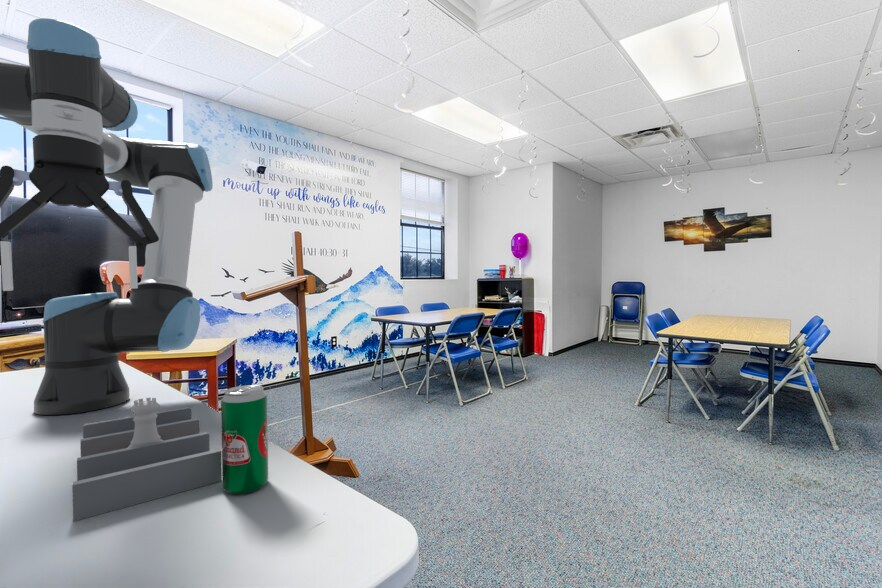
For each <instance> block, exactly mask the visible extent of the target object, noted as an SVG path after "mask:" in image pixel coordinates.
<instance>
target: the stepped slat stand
mask: <svg viewBox="0 0 882 588" xmlns="http://www.w3.org/2000/svg"><path fill="white" fill-rule="evenodd" d="M155 413H156V415H157V418H156V426H157V432H158V434H159V436H160V437H161V438H160V439H162V440H163V441H159V442H154V443H149V444H144V445H139V446H134V447H129V445H130V444H131V441H132V439H133V436H134V429H135V422H134V421H133V418H134V417H135V415H131V416H130V415H129V416H125V417H119V418H118V417H117V418H113V419H107V420H106V419H105V420H101V421H94V422H87V423H83V425H82V429H83V430H82V435H83V438H80V441H79V443H80V449H79V450H80V457H77V458H76V481H72V485H71V486H72V488H71V489H72V491H71V492H72V522H75V521H80V520H83V519H87V518H90V517H95V516H98V515H101V514H105V513H110V512H113V511H117V510H120V509H124V508H127V507H132V506H135V505H138V504H142V503H146V502H149V501H153V500H156V499H159V498H160V499H161V498H163V497H167V496H172V495H175V494H179V493H182V492H186V491H190V490H193V489H196V488H200V487H204V486H208V485H212V484H215V483H219V482H223V480H222V449H220V448H216V449H213V450H210V432H209V431H205V432H200V429H201V428H200V418H199V417H196V418H192V407H191V406H187V407H181V408H175V409H174V408H173V409H168V410H161V411H156V412H155ZM128 447H129V448H128Z"/></svg>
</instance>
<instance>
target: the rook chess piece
mask: <svg viewBox="0 0 882 588" xmlns="http://www.w3.org/2000/svg"><path fill="white" fill-rule="evenodd" d="M145 398H146V400H144V398H139V399H138V400H137V399H135V400H134V401H133V405H132V406H131V407H130V410H131V412H133V414H134V416H135V417H134V418H133V421H134V422H135V429H134V436H133V439H132V441H131V444H130V445H129V447H134V446H139V445H144V444H149V443H154V442H159V441H163V440H162V439H160V438H161V437H160V436H159V434H158V432H157V426H156V418H157V415H156V413H155V412H157V409H158V408H159V407H160V404H159V402H157V398H156V397H152V398H151V397H145ZM129 447H128V448H129Z"/></svg>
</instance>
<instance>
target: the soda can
mask: <svg viewBox="0 0 882 588" xmlns="http://www.w3.org/2000/svg"><path fill="white" fill-rule="evenodd" d="M223 392H224V395H223V396H222V398H221V399H220V408H221V409H220V414H221V418H220V419H221V421H220V423H221V468H222V488H223V490H224V491H225V492H227V493H228V494H230V495H233V496H237V495H238V496H239V495H241V496H242V495H248V494H250V493H251V494H252V493H254V492H256V491H259V490H260V489H261V488H262V487H264V486H265V484H266V483H267V482H268V480H269V445H268V443H269V437H268V436H269V435H268V395H267V393H266V392H265V391H264V386H262V385H256V384H251V385H250V384H247V385H237V386H233V387H230V388H227V389H226V390H224V391H223Z"/></svg>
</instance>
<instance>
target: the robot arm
mask: <svg viewBox="0 0 882 588" xmlns="http://www.w3.org/2000/svg"><path fill="white" fill-rule="evenodd" d="M27 33H28V34H27V45H26V49H27V51H28V52H27V53H28V55H27V56H28V65H26V64H20V63H11V62H5V61H4V62H3V61H0V116H2V117H4V118H6V119H8V120H10V121H11V122H13V123H16V124H17V125H19V126H21V127H23V128H25V129H26V130H28V131H30V132H32V133H34V134H36V135H35V136H34V137H32V151H33V155H32V158H33V168H32V169H31V171H25V170H21V169H16V168H13V167H12V166H10V165H2V166H1V168H0V209H1V208H2V206H3V205H4V203H5V202H6V201H7V199H8V198H9V197H10V195H11V194H12V192H13V191H14V188H15V187H19V186H21V185H23V183H24V182H25V181H30V182H31V183H32V184H33V186H34V187H36V188H37V190H38V192H37V193H35V194H34V195H33V196H32V197H31V198H30V199H29V200H28V201H26V202H25V203H24V204H23V205H21V206H20V207H19V208H17V210H15V211H14V212H12V213H11V214H10V215H9V216H7V217H6V218H5V219H4V220H3V221H1V222H0V266H1V282H2V283H1V284H2V291H3V292H9V291H10V292H11V291H14V278H13V258H12V242H10V241H8V240H7V241H3V240H4V239H5V238H6V237H8V235H10V234H11V233H12V232H13V231H15V230H16V229H17V228H18V227H20V226H21V225H23V223H25V221H27V220H28V219H30V218H31V217H32V216H33V215H35V213H37V212H38V211H39V210H41V209H42V208H44V207H45V206H46V205H47V204H49V203H51V204H53V205H56V206H57V207H71V206H72V207H76V208H78V209H88V208H91V207H92V206H94V208H95V209H96V210H97V211H99V212H100V213H101V214H102V215H103V216H104V217H106V219H108V220H109V222H111V223H112V224H113V226H115V227H116V228H117V229H118V230H119V231H120V232H121V233H122V234H123V235H124V236H125V237H126V238H127V239H128V240H129V241H130V242H131V243H132V244H134V245H130V246H128V261H129V262H128V265H129V266H128V270H129V271H128V272H129V289H130V295H129V297H128V298H127V297H126V298H123V297H121V298H119V295H118V293H117V291H107V292H95V293H93V292H92V293H85V294H84V293H83V294H76V295H75V294H74V295H68V296H61V297H60V296H59V297H54V298H51V299H49V300H48V301H47V302H46V303H45V304H44V307H43V308H44V310H43V320H42V323H43V337H44V339H43V343H44V344H43V345H44V364H45V365H44V367H45V368H44V375H43V377H42V379H41V382H40V384H39V388H38V390H37V392H36V395H35V397H34V400H33V413H34V414H37V415H45V416H59V415H69V414H79V413H85V412H86V413H87V412H92V411H97V410H101V409H106V408H111V407H115V406H117V405H120V404H122V402H123V403H125V402H127V401H128V400H130V398H129V397H130V386H129V385H128V382H127V379H126V378H125V376H124V373H123V371H122V368H121V366H120V364H119V360H120V359H119V356H120V355H119V354H120V353H121V354H124V353H144V352H145V353H146V352H147V353H148V352H150V353H151V352H162V353H165V352H169V351H180V350H184V349H187V348H189V346H191V344H192V343H193V342H194V340H195V339H196V336H197V334H198V330H199V326H200V322H201V306H200V302H199V300H198V299H197V298H196V297H194V293H193V291H192V290H191V289H190V288H189V287H187V281H188V270H189V264H190V263H189V262H190V253H191V244H192V236H193V235H192V234H193V228H194V227H193V226H194V217H195V209H196V204H197V203H199V202H200V201H201V200H203V198H204V192H211V191H212V189H213V186H214V185H213V176H212V169H211V164H210V161H209V156H208V154H207V152H206V149H205V148H204V147H203V146H202V145H200V144H197V143H196V144H195V143H189V142H187V141H185V142H174V141H164V140H152V139H142V138H141V139H140V138H133V137H132V138H129V137H120V136H117V135H116V134H114V133H112V132H121V131H125V130H128V129H130V128H131V127H133V125H134V124H135V123H136V121H137V119H138V114H139V110H138V106H137V103H136V101H135V100H134V98H133V97H132V95H130V94H129V92H128V90H127V89H126V88H125V87H124V86H123V85H121V84H119V83H118V82H117V81H116V80H115V79H114V78H113V77H112V76H111V75H110V74H109V73H108V72H107V71H106V70H105V69H104V68H103V67H102V65H101V59H102V55H101V52H100V45H99V41H98V40H97V38H96V37H95V36H94V35H93V34H92V33H90V32H89V31H87V30H86V29H84V28H82V27H80V26H78V25H75V24H73V23H71V22H67V21H64V20H59V19H56V18H55V19H54V18H46V17H42V18H40V17H39V18H36V19H34V20H32V21H30V22H29V24H28V31H27ZM104 129H105V130H104ZM110 131H111V132H110ZM108 178H109V179H111V180H113V181H111V180H109V181H108ZM132 187H138V188H147V189H149V192H150V193H151V194H152V195H153V202H152V208H151V214H150V221H149V219H148V218H147V216H146V214H145V212H144V210H142V208H141V206H140V204H139V203H138V201H137V199H136V198H135V196H134V193H133V188H132ZM108 190H112V191H113V192H114V194H115V195H116V196H118V197H121V198H122V201H123V203H124V204H125V205H126V207H127V209H128V211H130V214H131V215H132V217H133V219H134V220H135V222H136V224H137V225H138V227H139V228H140V230H141V231H142V233H143V235H144V236H141V235H140V234H139V233H138V232H137V231H136V230H135V228H133V227H132V226H131V225H130V224H129V223H128V222H127V221H126V220H124V218H123V217H122V216H121V215H120V214H119V213H118V212H117V211H115V210H114V208H112V207H111V205H110V204H109V203H108V202H107V201H106V200H105V199H104V198H103V196H104V195H105V194H106V192H108ZM138 267H140V268H141V267H142V272H141V273H142V274H141V279H140V282H138V281H139V279H138ZM126 400H127V401H126Z"/></svg>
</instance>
